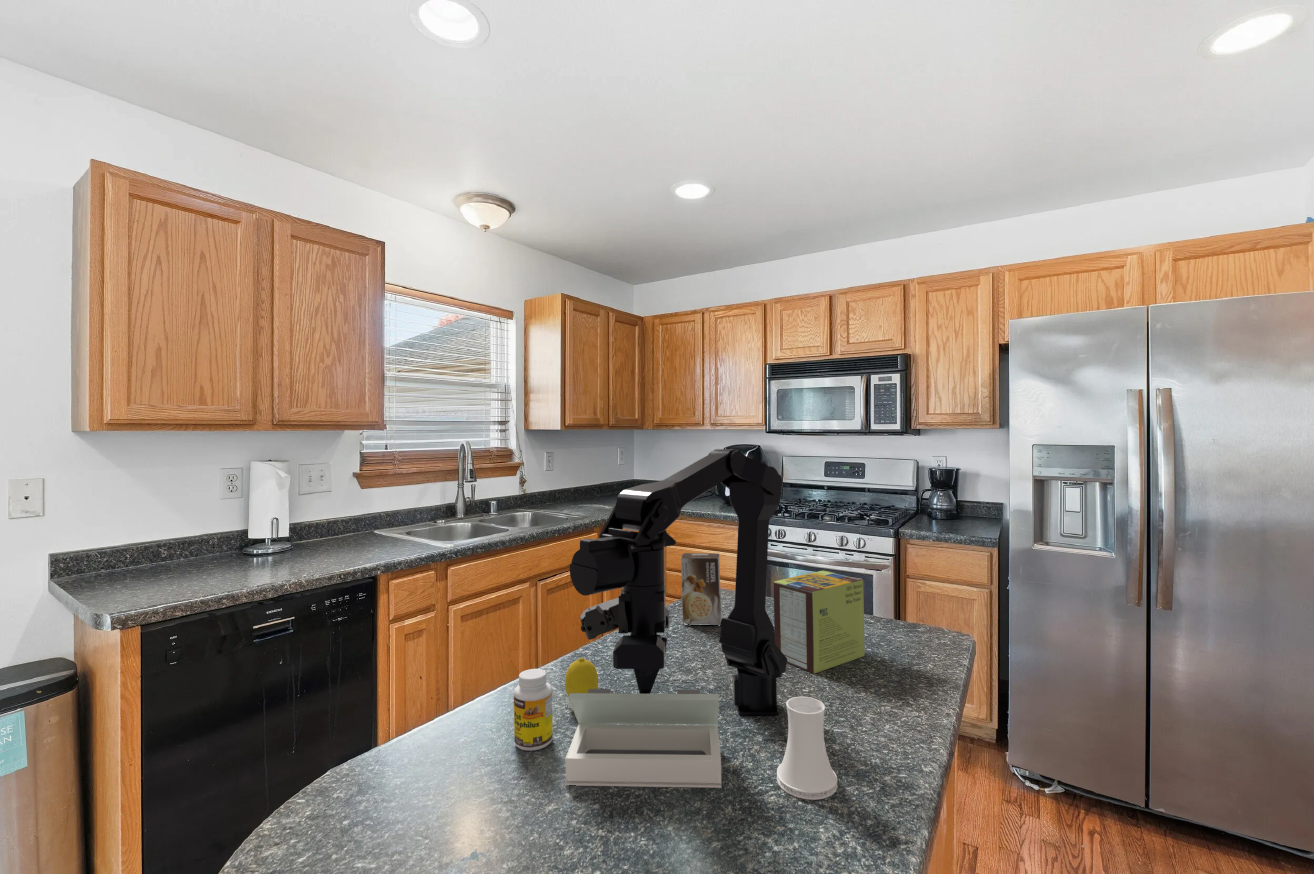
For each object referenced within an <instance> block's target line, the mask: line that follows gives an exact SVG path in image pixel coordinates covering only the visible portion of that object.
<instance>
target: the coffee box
mask: <svg viewBox="0 0 1314 874" xmlns="http://www.w3.org/2000/svg"><path fill="white" fill-rule="evenodd" d="M720 567H721V566H720V553H714V552H713V553H712V552H711V553H707V552H706V553H705V552H704V553H703V552H702V553H701V552H690V553H689V552H683V554H682V555H681V558H680V573H681V607H682V608H681V609H682V624H683V623H686V624H710V625H721V620H722V618H723V617H722V601H721V600H722V599H721V598H722V597H721V576H720V575H721V572H720V571H721V570H720Z"/></svg>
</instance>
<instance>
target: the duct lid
mask: <svg viewBox="0 0 1314 874" xmlns="http://www.w3.org/2000/svg"><path fill="white" fill-rule="evenodd" d="M568 701H569V703H570V706H571V708H572V711H573V713H574V716H575V719H576V720H577V723H578V724H606V725H719V724H718V723H719V708H720V707H719V705H720V694H719V693H701V689H677V692H676V693H650V694H640V693H612V690H611V688H609V689H608V688H606V689H605V688H603V689H602V688H600V689H599V688H598V689H589V690H588V693H570V694H569V697H568Z"/></svg>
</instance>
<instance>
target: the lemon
mask: <svg viewBox="0 0 1314 874" xmlns="http://www.w3.org/2000/svg"><path fill="white" fill-rule="evenodd" d="M565 673H566V674H565V678H564V679H565V680H564V689H565V692H566V695H567V696H568V698H569V694H570V693H588V690H589V689H599V675H598V670H597V668H596V666H595V664H594V663H592V662H591V661H590V660H588V659H585V658H584V657H579V658H578V659H577V660H574V661H573V662H572V663H571V664H570V665H569V666H568V668H567V670H566V672H565Z"/></svg>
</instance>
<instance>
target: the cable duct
mask: <svg viewBox="0 0 1314 874" xmlns="http://www.w3.org/2000/svg"><path fill="white" fill-rule="evenodd" d="M718 725H719V724H718ZM718 725H693V724H579V723H578V724H577V728H576V730H575V732H574V735H573V737H572V741H571V744H570V746H569V748H568V751H567V753H566V756H565V786H569V785H576V787H580V786H581V787H583V786H584V787H585V786H586V787H588V786H589V787H639V788H640V787H643V788H645V787H652V788H666V787H667V788H712V789H713V788H719V789H720V788H722V755H721V746H720V737H719V736H720V735H719V734H720V733H719V726H718Z"/></svg>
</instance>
